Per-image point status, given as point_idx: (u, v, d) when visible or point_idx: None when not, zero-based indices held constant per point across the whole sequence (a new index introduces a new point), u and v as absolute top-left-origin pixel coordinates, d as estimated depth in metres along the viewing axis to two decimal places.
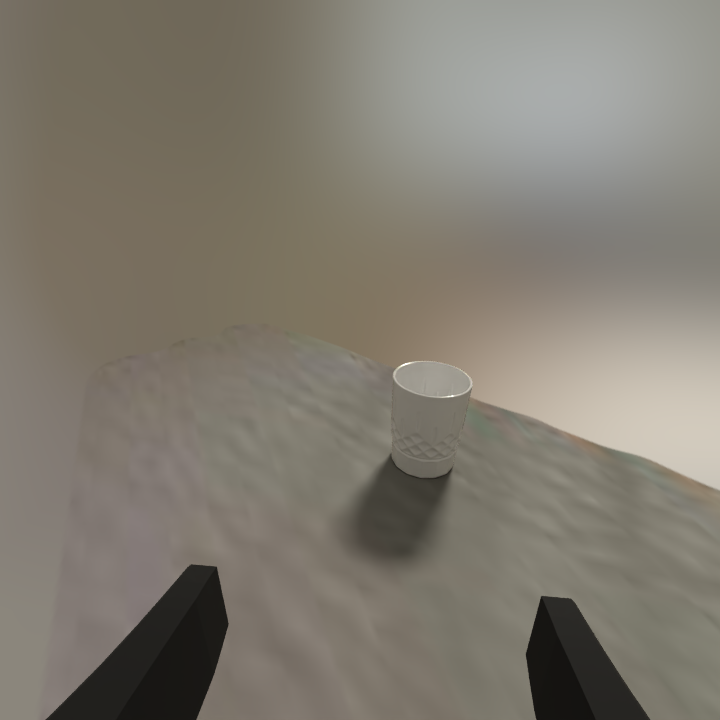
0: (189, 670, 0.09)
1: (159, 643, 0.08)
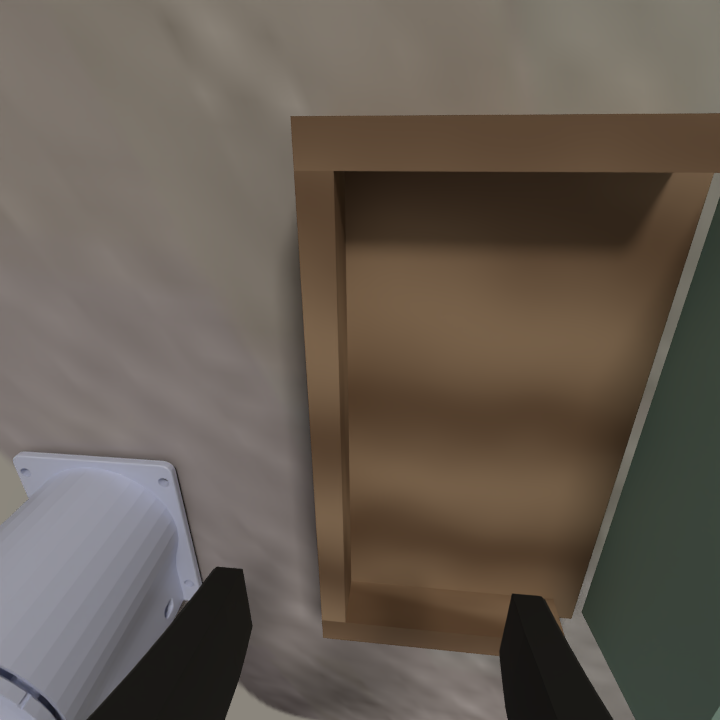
0: (218, 673, 0.09)
1: (191, 646, 0.08)
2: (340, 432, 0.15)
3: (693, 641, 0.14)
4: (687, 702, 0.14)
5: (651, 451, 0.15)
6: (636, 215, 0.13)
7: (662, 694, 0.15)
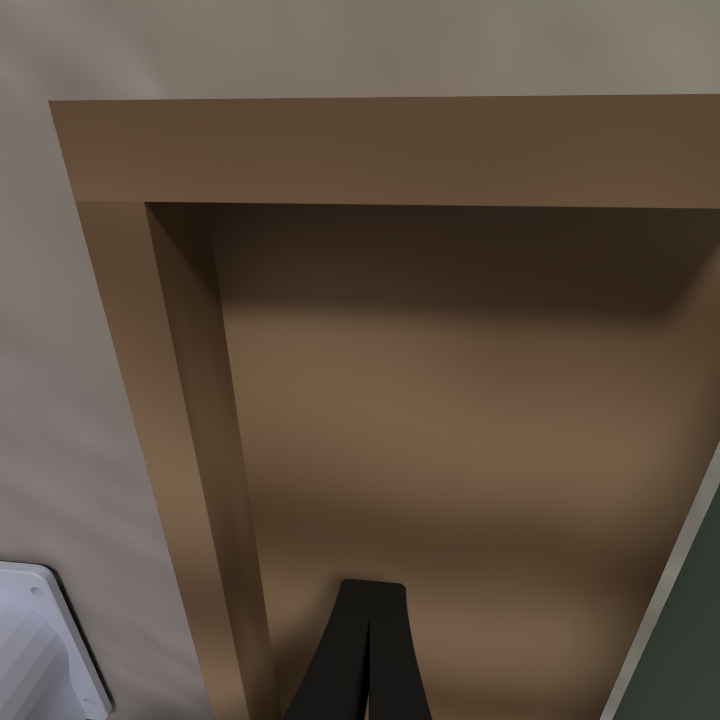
0: (363, 690, 0.09)
1: (352, 664, 0.08)
2: (224, 588, 0.10)
3: None
4: None
5: (695, 610, 0.10)
6: (685, 269, 0.08)
7: None
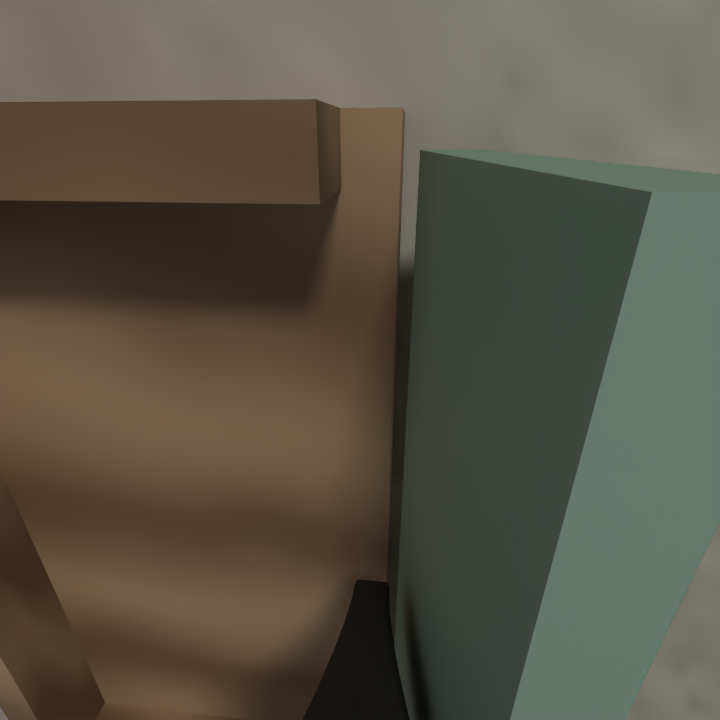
0: None
1: (369, 666, 0.08)
2: None
3: None
4: None
5: (402, 583, 0.11)
6: (306, 261, 0.08)
7: None
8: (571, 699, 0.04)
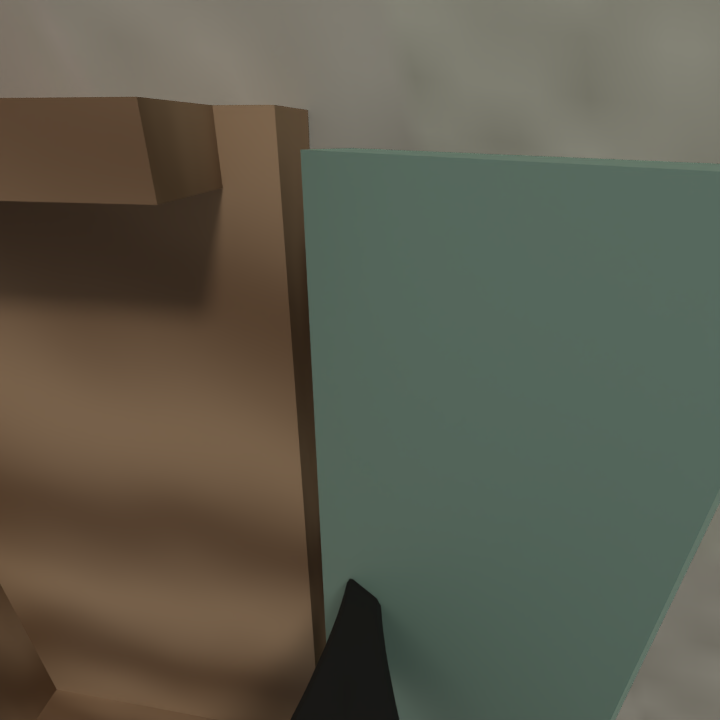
0: None
1: (359, 665, 0.08)
2: None
3: None
4: None
5: (340, 595, 0.11)
6: (197, 261, 0.08)
7: None
8: (683, 571, 0.05)
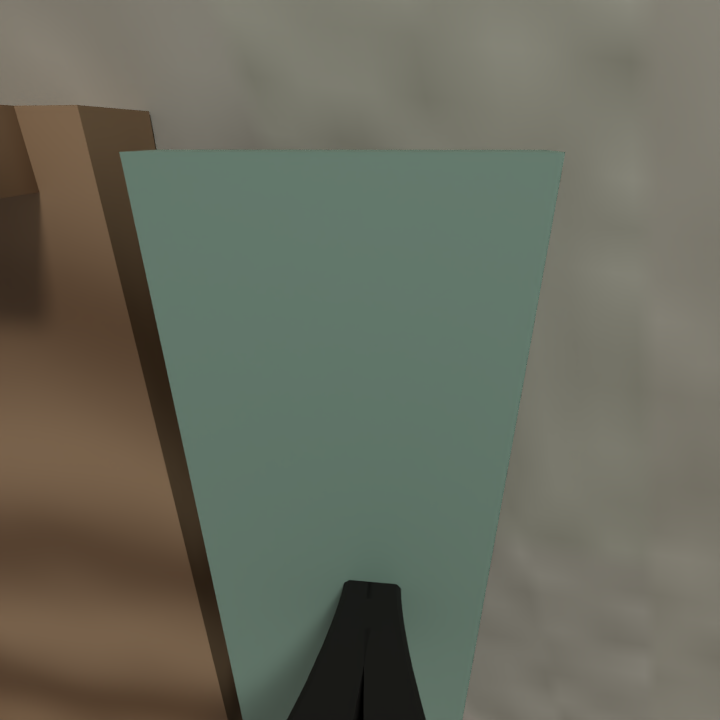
0: None
1: (356, 664, 0.08)
2: None
3: None
4: None
5: (245, 600, 0.10)
6: (26, 269, 0.08)
7: None
8: None
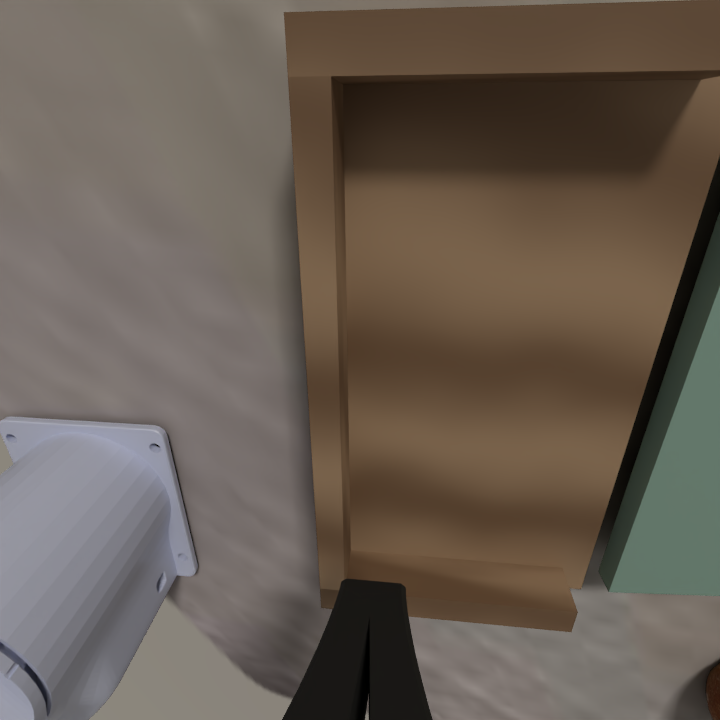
0: (363, 690, 0.09)
1: (352, 664, 0.08)
2: (339, 379, 0.14)
3: None
4: None
5: (702, 397, 0.15)
6: (657, 136, 0.12)
7: None
8: None
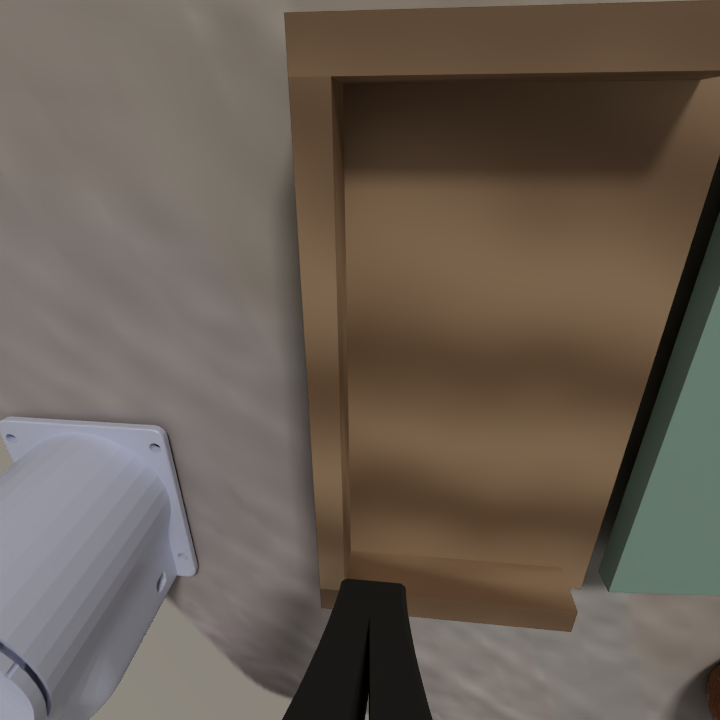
0: (363, 690, 0.09)
1: (352, 664, 0.08)
2: (339, 379, 0.14)
3: None
4: None
5: (702, 397, 0.15)
6: (657, 136, 0.12)
7: None
8: None
